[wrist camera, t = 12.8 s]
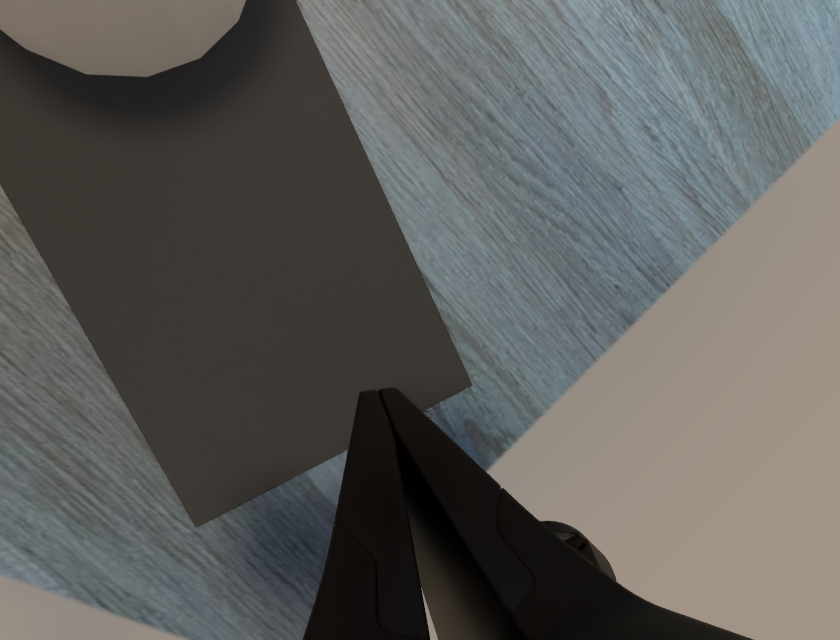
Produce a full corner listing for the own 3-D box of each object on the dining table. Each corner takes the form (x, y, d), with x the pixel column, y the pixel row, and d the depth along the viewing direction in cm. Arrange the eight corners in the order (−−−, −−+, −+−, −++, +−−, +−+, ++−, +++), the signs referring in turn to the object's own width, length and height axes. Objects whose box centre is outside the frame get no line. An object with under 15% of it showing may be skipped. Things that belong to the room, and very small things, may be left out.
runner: (471, 384, 24) (472, 385, 24) (197, 525, 22) (195, 527, 22) (196, -213, 20) (195, -218, 20) (-165, -110, 18) (-171, -115, 18)
